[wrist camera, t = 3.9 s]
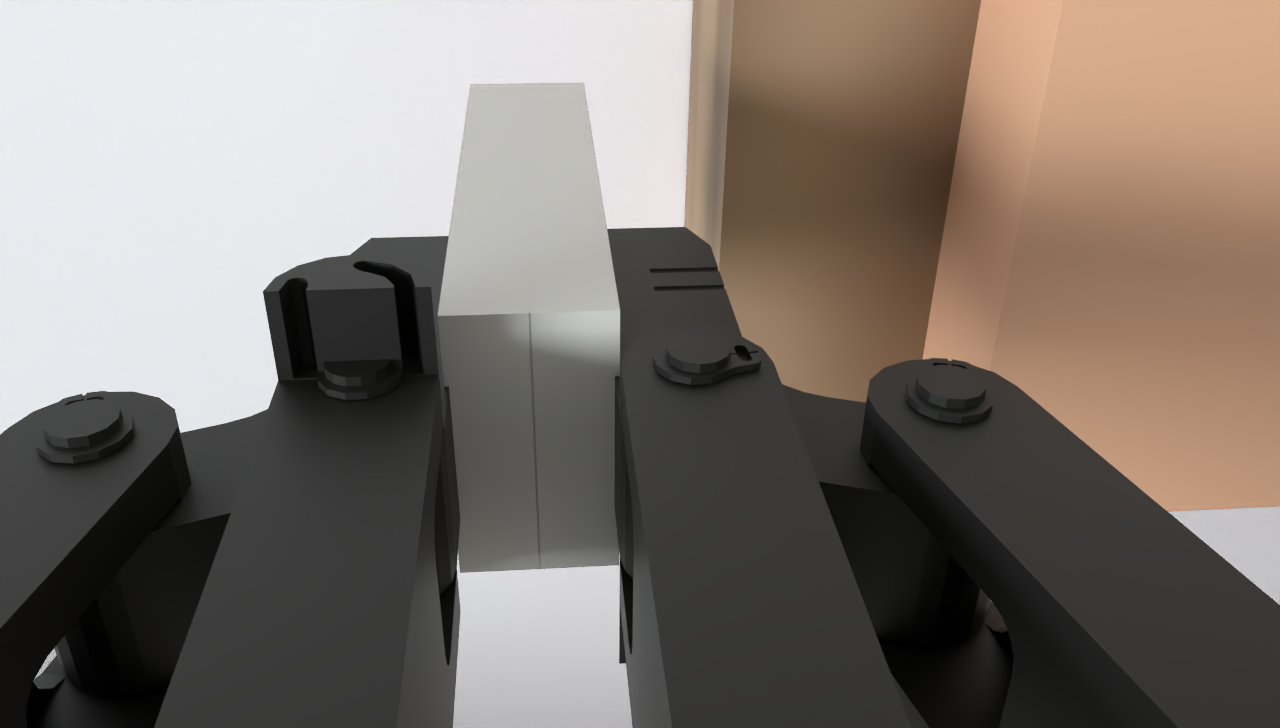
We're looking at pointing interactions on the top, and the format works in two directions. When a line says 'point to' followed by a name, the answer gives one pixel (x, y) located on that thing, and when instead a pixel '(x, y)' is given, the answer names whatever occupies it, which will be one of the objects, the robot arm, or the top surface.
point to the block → (1126, 234)
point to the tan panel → (827, 173)
